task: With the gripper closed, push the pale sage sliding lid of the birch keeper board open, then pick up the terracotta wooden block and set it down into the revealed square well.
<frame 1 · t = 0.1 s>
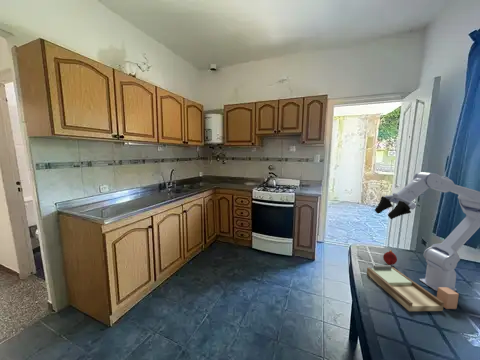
hand: (382, 214, 88), 32 cm above the table, tool tilted 50°, fingers open, 7 cm apart
block: (445, 305, 81), on the table
onion: (389, 265, 109), on the table
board: (399, 290, 89), on the table
lid: (390, 274, 94), point 3 cm above the table, slide at 0.0 cm
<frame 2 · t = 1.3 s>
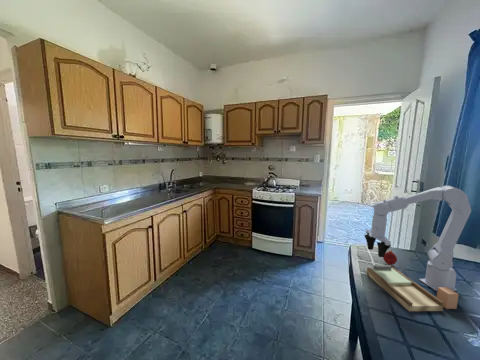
hand: (375, 252, 104), 9 cm above the table, tool pointing down, fingers open, 7 cm apart
nothing on the table moved.
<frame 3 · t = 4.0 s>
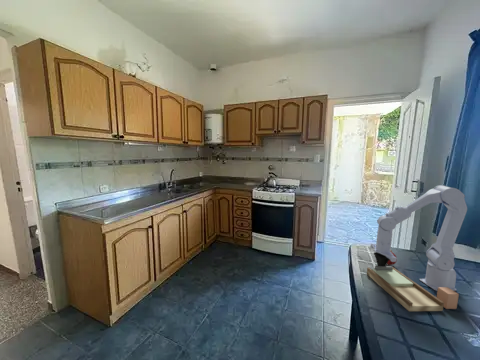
hand: (380, 268, 100), 3 cm above the table, tool pointing down, fingers closed
lid: (391, 275, 94), point 3 cm above the table, slide at 0.7 cm, touching gripper
everything else where it was.
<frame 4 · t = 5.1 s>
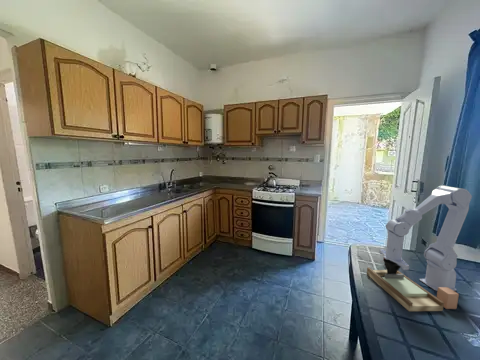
hand: (390, 276, 94), 3 cm above the table, tool pointing down, fingers closed
lid: (403, 284, 87), point 3 cm above the table, slide at 7.1 cm, touching gripper
everything else where it was.
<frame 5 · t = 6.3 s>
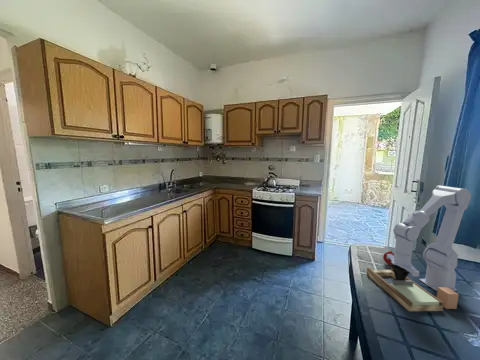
hand: (399, 282, 89), 3 cm above the table, tool pointing down, fingers closed
lid: (413, 291, 83), point 3 cm above the table, slide at 11.8 cm, touching gripper
everything else where it was.
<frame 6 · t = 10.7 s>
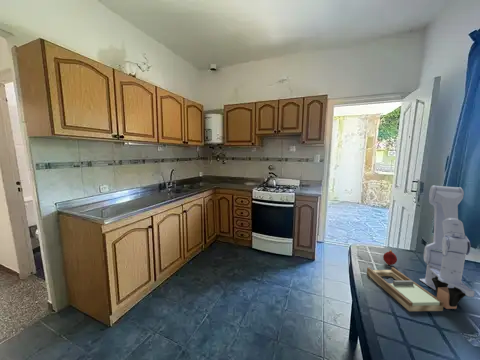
hand: (446, 301, 80), 1 cm above the table, tool pointing down, fingers closed on block, 4 cm apart
block: (445, 304, 81), on the table, touching gripper
lid: (413, 292, 82), point 3 cm above the table, slide at 12.0 cm
everything else where it was.
when the fingers open (3 cm above the table, at t = 15.7 s): block drops 2 cm, resting in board.
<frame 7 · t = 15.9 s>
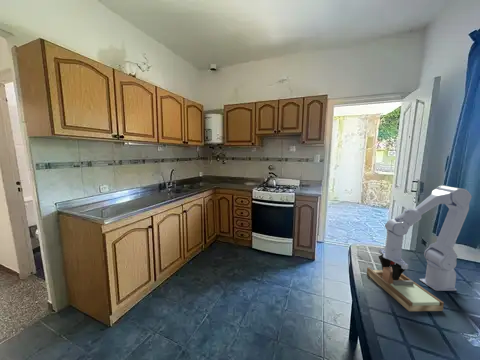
hand: (390, 275, 94), 3 cm above the table, tool pointing down, fingers open, 5 cm apart
block: (389, 281, 95), resting in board
everything else where it was.
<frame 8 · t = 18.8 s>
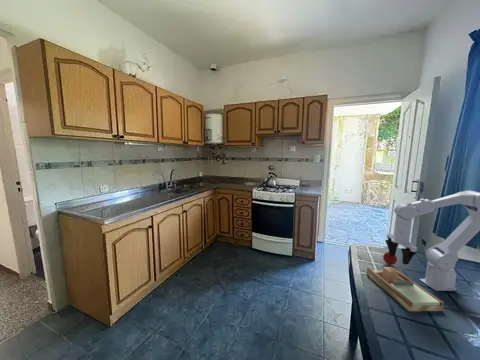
hand: (398, 259, 96), 9 cm above the table, tool pointing down, fingers open, 7 cm apart
nothing on the table moved.
at the end: lid slide at 12.0 cm; block 0.1 cm from the target spot on the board, point 0.0 cm above the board's base; the gripper is holding nothing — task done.
